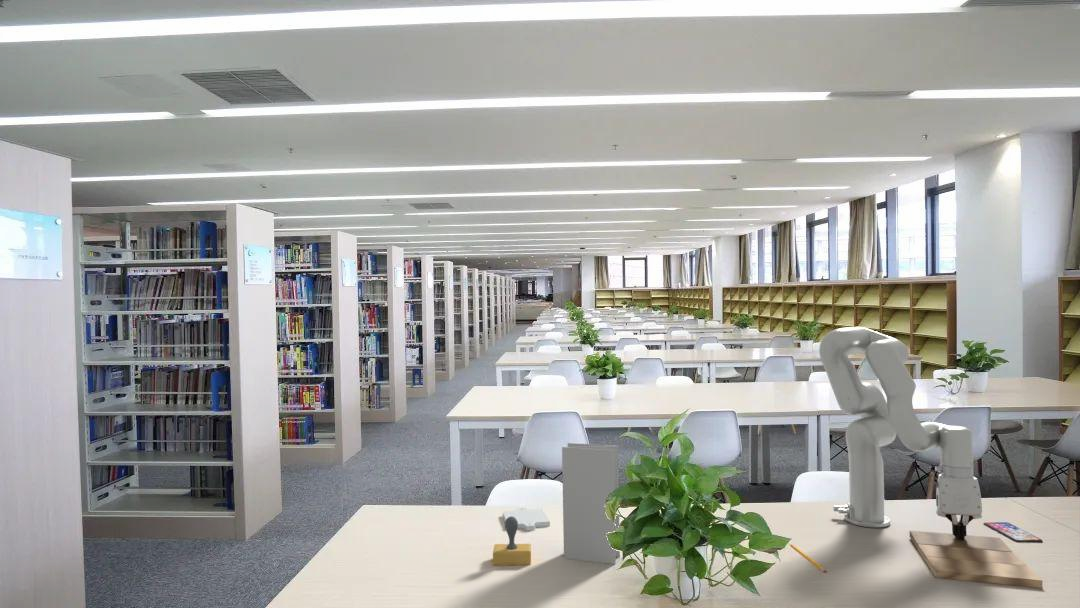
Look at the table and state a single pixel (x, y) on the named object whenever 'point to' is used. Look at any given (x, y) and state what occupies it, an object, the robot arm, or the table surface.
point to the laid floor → (978, 565)
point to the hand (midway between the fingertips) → (959, 538)
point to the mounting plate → (528, 518)
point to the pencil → (808, 559)
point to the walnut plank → (958, 541)
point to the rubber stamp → (512, 548)
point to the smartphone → (1012, 532)
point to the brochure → (588, 501)
